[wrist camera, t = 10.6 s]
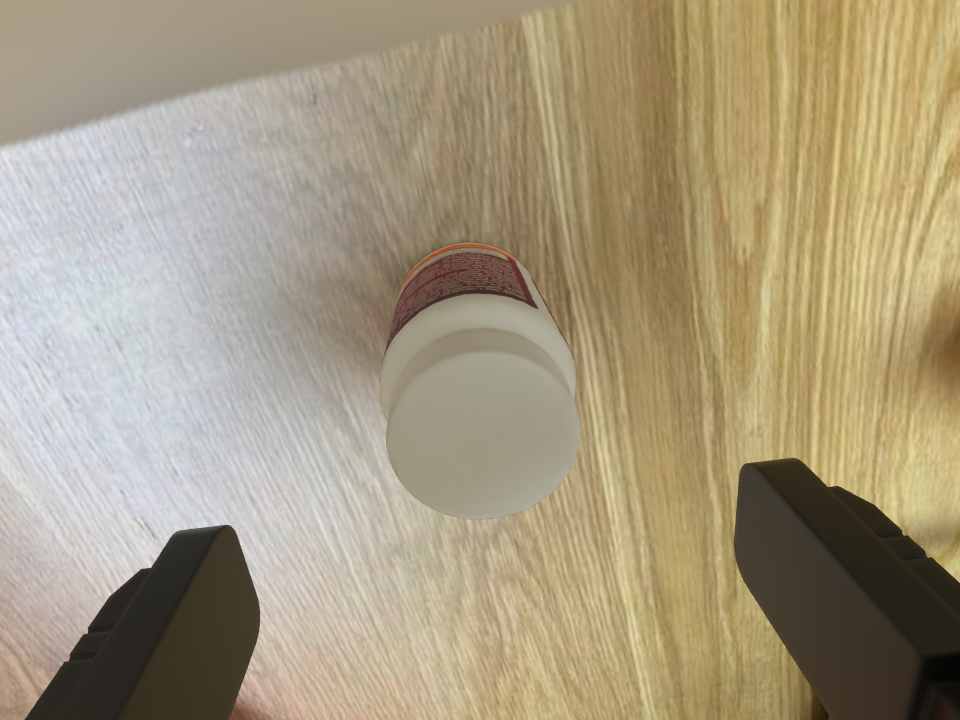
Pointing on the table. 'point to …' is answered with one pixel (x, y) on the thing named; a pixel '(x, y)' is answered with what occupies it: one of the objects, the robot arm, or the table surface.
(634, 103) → the table surface
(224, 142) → the table surface
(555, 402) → the pill bottle
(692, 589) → the table surface
